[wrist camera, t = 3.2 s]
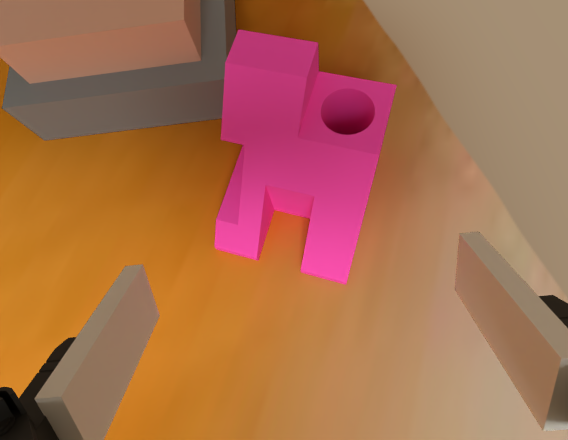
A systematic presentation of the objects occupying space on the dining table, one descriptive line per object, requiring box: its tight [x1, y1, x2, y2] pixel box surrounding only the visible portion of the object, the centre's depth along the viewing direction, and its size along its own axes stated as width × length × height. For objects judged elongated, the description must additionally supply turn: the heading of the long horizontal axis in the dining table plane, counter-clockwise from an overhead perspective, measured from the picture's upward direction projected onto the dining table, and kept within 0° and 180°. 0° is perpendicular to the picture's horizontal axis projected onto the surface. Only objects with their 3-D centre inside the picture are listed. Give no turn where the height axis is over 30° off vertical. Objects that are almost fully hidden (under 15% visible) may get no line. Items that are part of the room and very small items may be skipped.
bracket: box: [215, 30, 397, 284], centre depth 27 cm, size 12×10×10 cm
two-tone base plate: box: [0, 0, 236, 140], centre depth 34 cm, size 18×20×9 cm
